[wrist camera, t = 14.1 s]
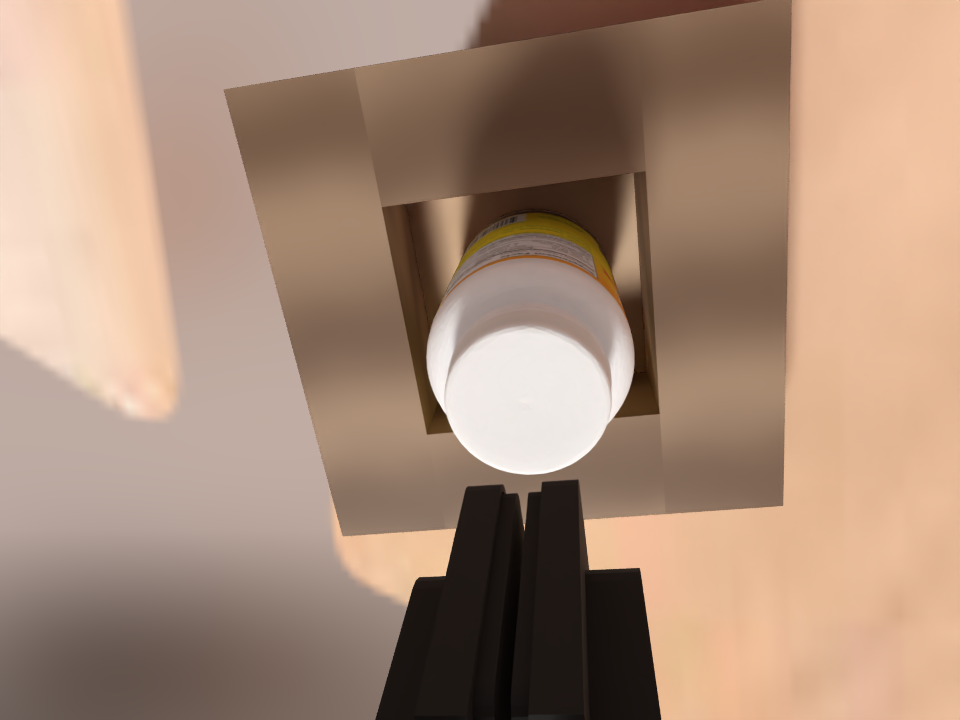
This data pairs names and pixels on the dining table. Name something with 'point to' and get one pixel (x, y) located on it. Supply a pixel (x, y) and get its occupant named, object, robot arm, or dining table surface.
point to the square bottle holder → (526, 163)
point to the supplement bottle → (531, 344)
